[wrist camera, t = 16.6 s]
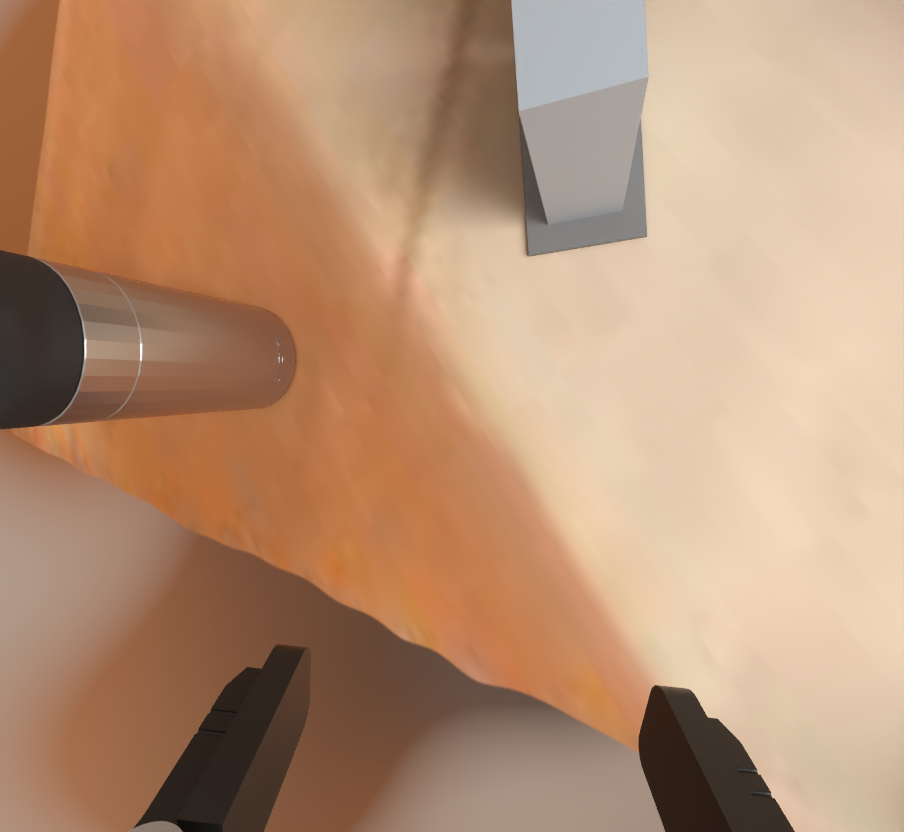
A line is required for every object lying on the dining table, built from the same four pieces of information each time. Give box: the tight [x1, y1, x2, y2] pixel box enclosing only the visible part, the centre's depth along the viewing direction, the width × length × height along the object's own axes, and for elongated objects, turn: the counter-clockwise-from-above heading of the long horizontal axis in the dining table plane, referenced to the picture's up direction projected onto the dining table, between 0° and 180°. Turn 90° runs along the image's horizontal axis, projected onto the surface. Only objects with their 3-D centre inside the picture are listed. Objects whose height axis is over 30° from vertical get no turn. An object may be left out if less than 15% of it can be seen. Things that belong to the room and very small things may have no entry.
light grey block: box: [511, 0, 648, 225], centre depth 24 cm, size 5×10×14 cm, turn 4°
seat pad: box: [519, 115, 647, 256], centre depth 31 cm, size 14×8×1 cm, turn 5°
